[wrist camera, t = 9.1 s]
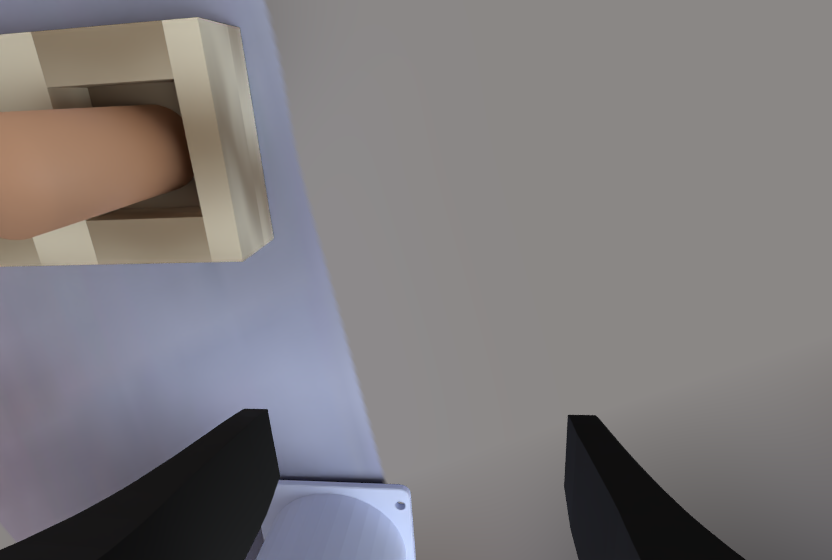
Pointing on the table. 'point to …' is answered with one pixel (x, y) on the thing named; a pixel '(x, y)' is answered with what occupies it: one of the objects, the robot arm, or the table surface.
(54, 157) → the dowel
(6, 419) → the table surface
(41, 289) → the table surface
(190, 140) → the bore block
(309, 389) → the table surface
